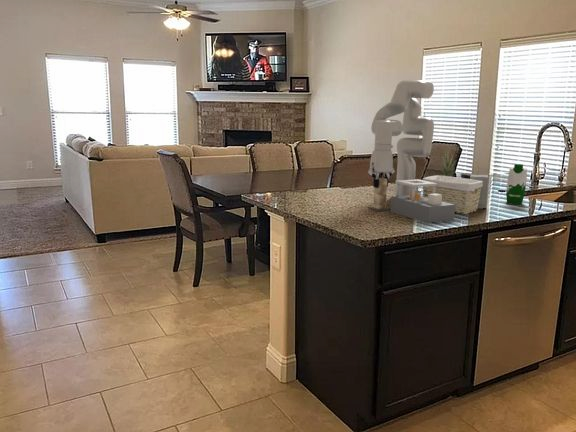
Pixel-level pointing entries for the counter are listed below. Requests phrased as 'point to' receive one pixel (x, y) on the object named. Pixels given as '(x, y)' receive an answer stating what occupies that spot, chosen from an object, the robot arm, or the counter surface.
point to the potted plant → (448, 166)
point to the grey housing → (420, 204)
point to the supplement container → (467, 175)
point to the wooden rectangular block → (380, 194)
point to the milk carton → (516, 184)
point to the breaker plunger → (417, 196)
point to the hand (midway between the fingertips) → (380, 186)
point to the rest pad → (378, 209)
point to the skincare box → (482, 189)
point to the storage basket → (456, 192)
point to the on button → (434, 199)
